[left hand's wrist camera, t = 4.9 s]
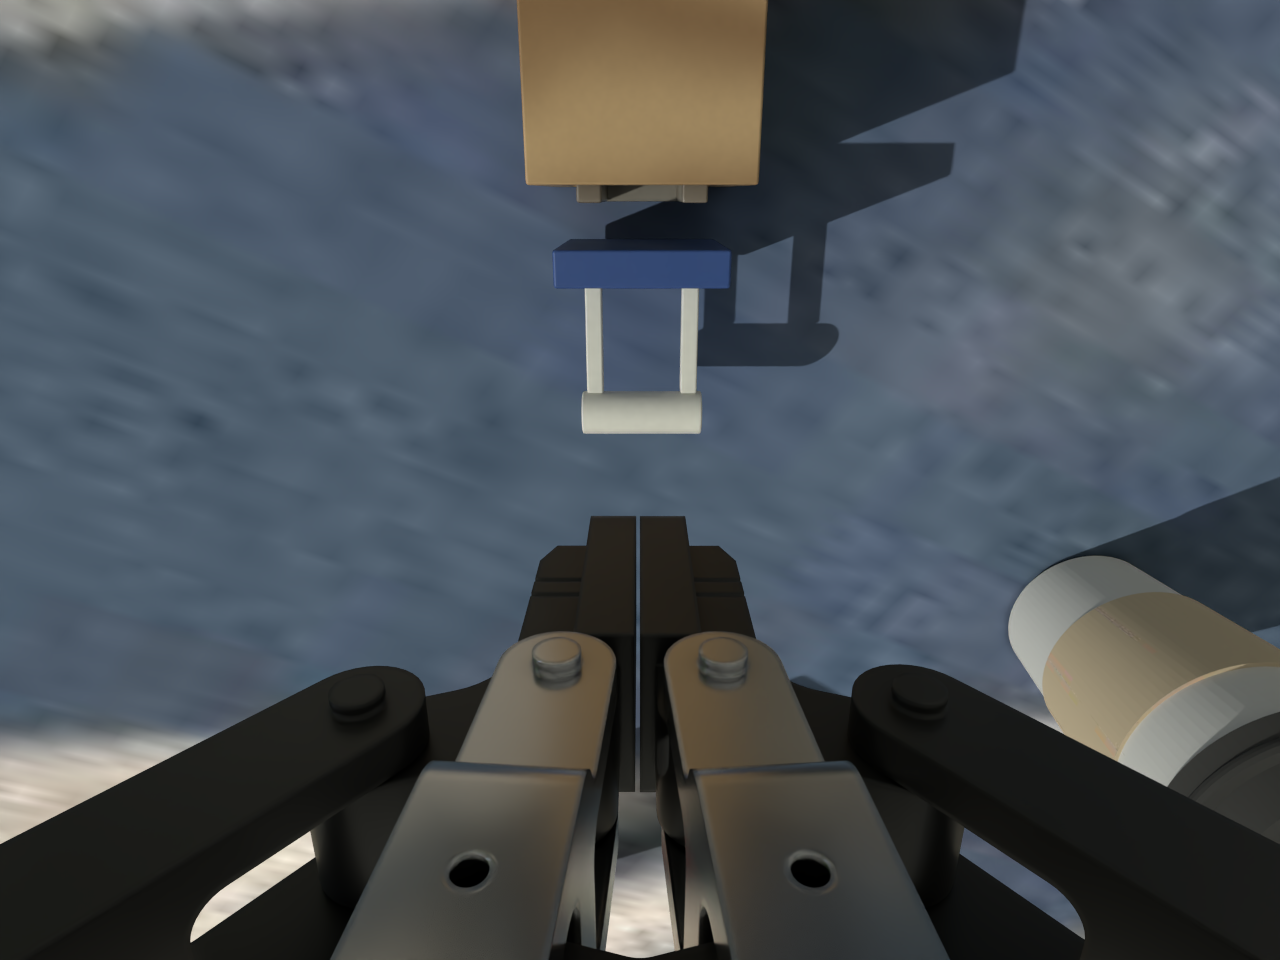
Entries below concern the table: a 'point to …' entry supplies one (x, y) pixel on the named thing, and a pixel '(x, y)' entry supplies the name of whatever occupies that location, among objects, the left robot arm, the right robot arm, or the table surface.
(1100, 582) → the coffee cup
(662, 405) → the drawer
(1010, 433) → the table surface
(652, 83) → the cabinet
